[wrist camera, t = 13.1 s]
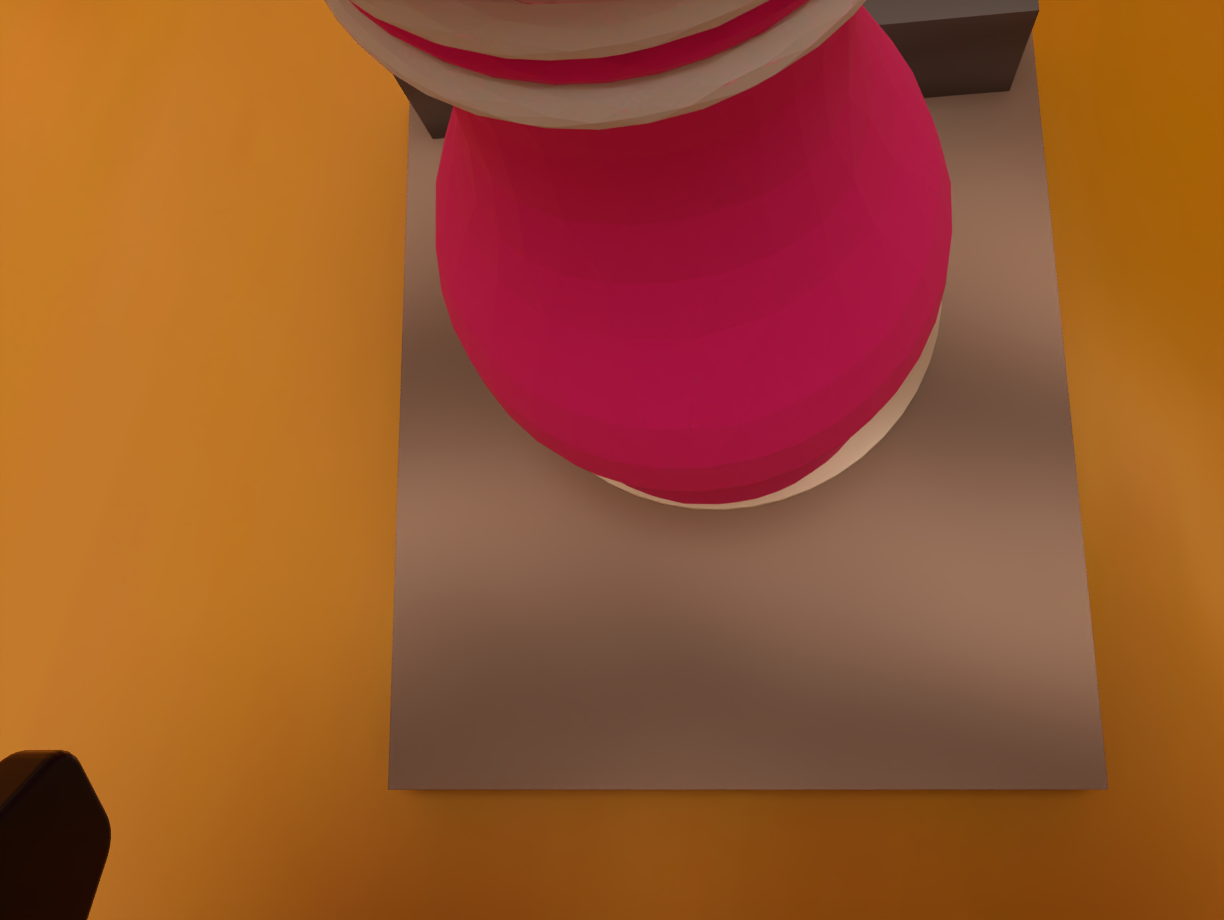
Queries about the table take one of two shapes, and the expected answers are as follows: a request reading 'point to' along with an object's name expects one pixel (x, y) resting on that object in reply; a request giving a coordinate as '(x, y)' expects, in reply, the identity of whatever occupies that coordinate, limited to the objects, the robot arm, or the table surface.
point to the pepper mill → (679, 224)
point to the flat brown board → (770, 533)
